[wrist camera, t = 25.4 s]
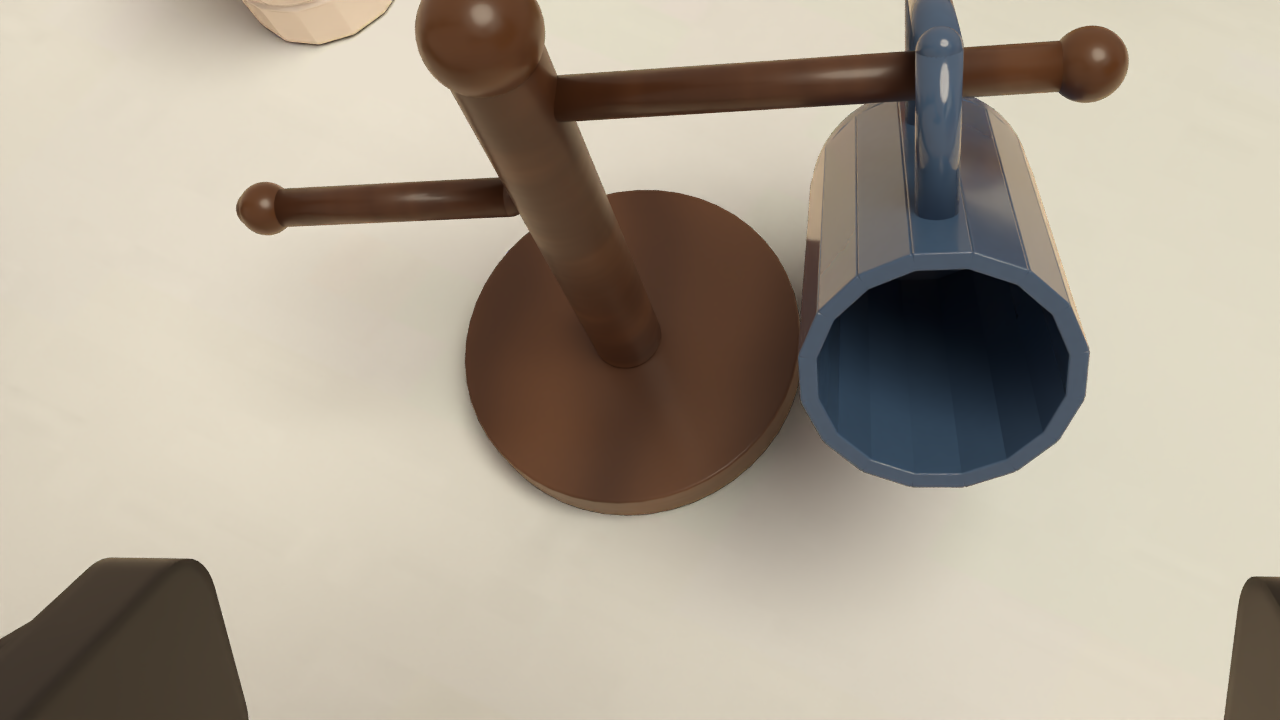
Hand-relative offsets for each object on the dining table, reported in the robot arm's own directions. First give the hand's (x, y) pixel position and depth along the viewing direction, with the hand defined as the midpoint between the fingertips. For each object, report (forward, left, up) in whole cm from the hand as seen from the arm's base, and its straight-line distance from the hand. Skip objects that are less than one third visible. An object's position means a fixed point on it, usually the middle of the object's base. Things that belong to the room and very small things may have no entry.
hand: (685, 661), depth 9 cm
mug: (+11, +13, -18) cm, 24 cm away
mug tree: (+3, +14, -26) cm, 29 cm away
